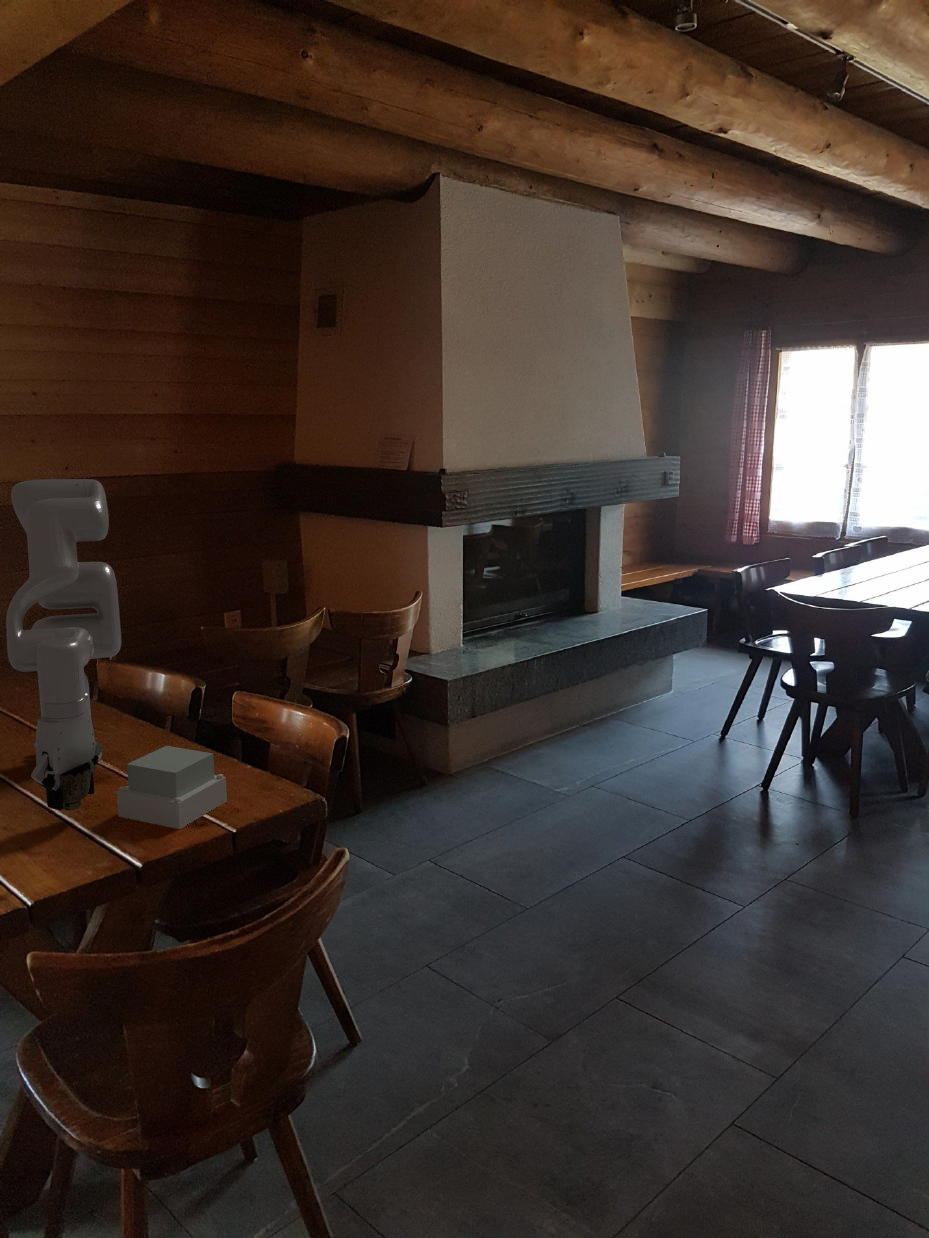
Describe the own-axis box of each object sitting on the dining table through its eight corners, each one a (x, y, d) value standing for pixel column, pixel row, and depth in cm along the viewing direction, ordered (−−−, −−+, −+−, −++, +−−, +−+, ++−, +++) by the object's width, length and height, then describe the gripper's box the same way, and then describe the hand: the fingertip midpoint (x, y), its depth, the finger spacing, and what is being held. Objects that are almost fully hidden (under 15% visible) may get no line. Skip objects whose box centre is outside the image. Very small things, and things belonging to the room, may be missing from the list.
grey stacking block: (118, 816, 181) (114, 765, 179) (168, 790, 194) (165, 742, 192) (179, 829, 176) (176, 776, 174) (226, 801, 189) (224, 752, 186)
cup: (102, 803, 180) (99, 762, 178) (74, 819, 173) (71, 777, 171) (69, 796, 182) (66, 756, 181) (40, 812, 176) (37, 770, 174)
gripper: (83, 690, 182) (90, 779, 187) (8, 718, 167) (17, 815, 171) (115, 696, 180) (121, 786, 184) (42, 725, 164) (50, 823, 168)
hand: (71, 799), depth 177 cm, fingers closed on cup, 6 cm apart
